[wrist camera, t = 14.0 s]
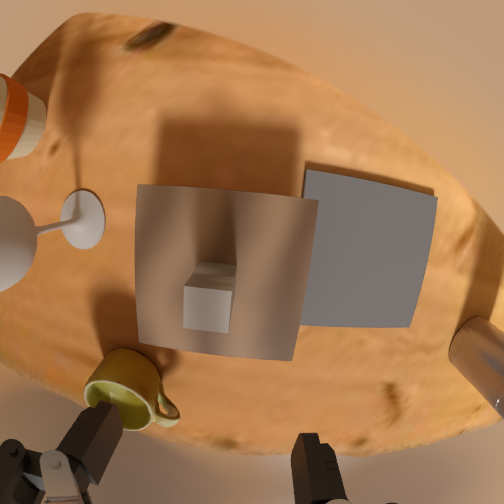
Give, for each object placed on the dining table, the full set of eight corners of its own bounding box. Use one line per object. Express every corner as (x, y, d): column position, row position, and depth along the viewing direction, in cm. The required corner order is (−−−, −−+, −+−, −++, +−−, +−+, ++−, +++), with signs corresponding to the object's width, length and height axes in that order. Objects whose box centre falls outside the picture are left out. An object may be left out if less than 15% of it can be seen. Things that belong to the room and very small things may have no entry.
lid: (316, 200, 22) (342, 204, 16) (290, 356, 25) (300, 402, 19) (141, 184, 22) (101, 183, 15) (141, 338, 25) (115, 377, 18)
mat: (434, 196, 28) (437, 197, 27) (406, 324, 31) (409, 327, 31) (305, 169, 27) (306, 169, 27) (284, 320, 31) (285, 324, 30)
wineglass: (117, 225, 29) (-33, 280, 8) (81, 262, 30) (-46, 333, 9) (86, 175, 27) (-64, 181, 7) (52, 215, 28) (-79, 250, 8)
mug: (86, 381, 32) (72, 418, 22) (110, 328, 33) (97, 357, 24) (157, 414, 36) (161, 456, 26) (185, 366, 37) (196, 403, 27)
